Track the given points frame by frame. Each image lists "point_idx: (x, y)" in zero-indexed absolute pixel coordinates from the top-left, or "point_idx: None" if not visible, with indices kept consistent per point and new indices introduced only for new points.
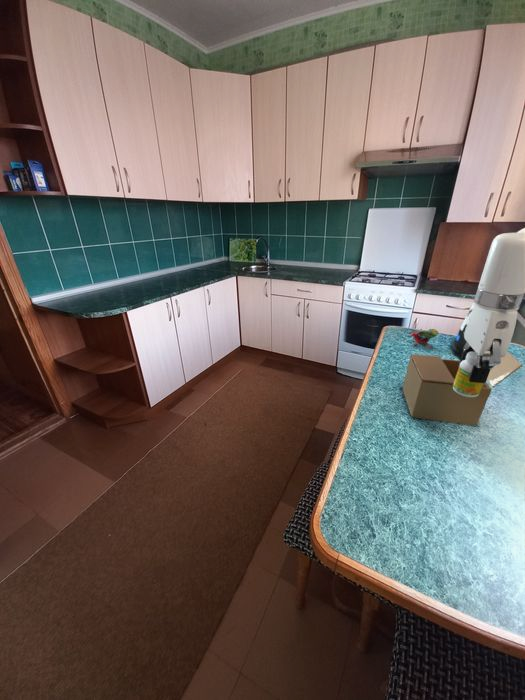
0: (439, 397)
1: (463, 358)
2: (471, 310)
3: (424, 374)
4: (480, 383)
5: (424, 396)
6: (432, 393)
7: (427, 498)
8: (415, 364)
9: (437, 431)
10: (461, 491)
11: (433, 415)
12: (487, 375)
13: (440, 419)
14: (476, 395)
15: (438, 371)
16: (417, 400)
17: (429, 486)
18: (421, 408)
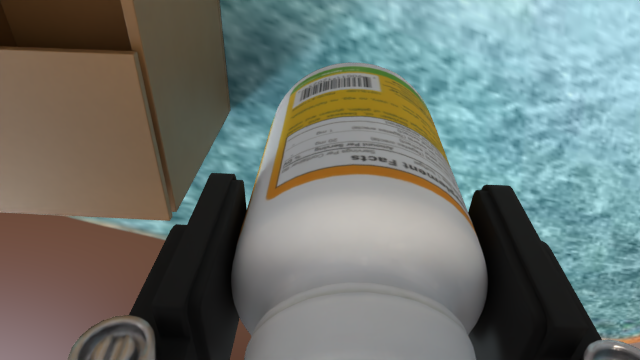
0: (187, 77)
1: (231, 344)
2: None
3: (108, 199)
4: (450, 169)
5: (197, 138)
6: (186, 120)
7: (586, 150)
8: (5, 211)
9: (293, 35)
10: (576, 48)
11: (217, 43)
12: (539, 247)
13: (217, 5)
14: (426, 106)
15: (27, 118)
16: (209, 147)
17: (548, 134)
18: (216, 106)
